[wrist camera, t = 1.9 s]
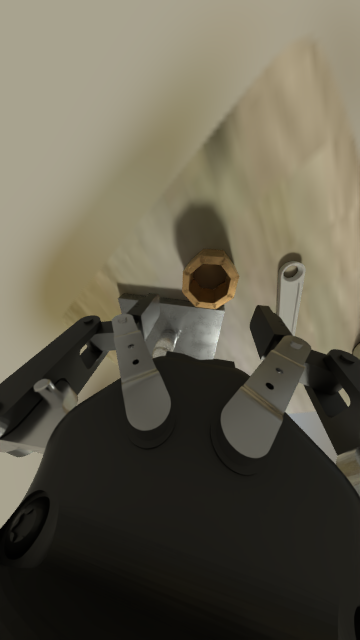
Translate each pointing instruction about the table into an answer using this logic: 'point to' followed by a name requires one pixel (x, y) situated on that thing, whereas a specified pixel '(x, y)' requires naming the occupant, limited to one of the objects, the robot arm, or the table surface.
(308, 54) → the table surface
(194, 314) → the block
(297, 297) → the adjustable wrench
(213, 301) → the wooden octagonal ring
